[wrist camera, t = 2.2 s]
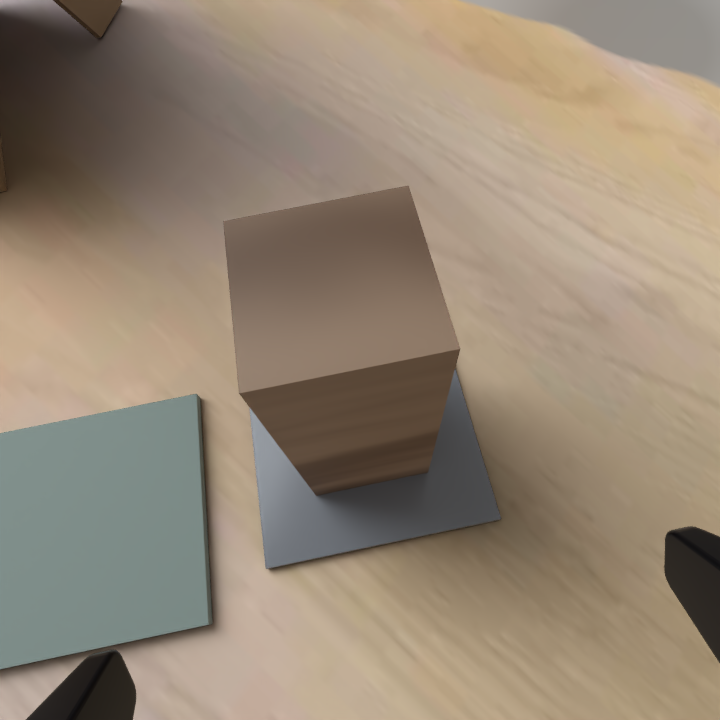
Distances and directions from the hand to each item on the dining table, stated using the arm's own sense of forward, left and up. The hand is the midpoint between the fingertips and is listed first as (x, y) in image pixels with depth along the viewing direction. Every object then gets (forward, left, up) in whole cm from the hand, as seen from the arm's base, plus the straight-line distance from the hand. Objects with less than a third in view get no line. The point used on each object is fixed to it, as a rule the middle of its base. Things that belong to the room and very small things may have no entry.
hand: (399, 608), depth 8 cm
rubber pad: (+12, +7, -13) cm, 19 cm away
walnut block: (+6, -4, -13) cm, 15 cm away
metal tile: (+6, -4, -13) cm, 15 cm away
